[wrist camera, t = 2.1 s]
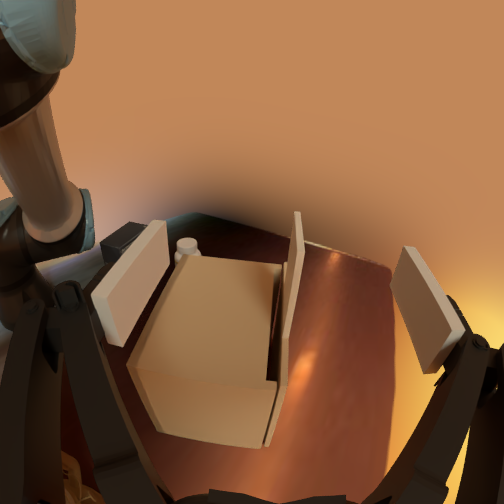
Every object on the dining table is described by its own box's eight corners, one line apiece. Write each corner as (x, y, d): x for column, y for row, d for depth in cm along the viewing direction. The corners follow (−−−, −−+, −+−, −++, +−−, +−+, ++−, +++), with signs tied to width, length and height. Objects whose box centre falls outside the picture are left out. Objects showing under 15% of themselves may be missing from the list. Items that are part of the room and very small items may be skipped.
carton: (157, 431, 32) (126, 364, 24) (190, 331, 49) (183, 254, 41) (260, 448, 32) (276, 390, 23) (269, 341, 49) (281, 264, 40)
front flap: (264, 446, 32) (300, 298, 18) (272, 340, 48) (292, 192, 35) (268, 446, 32) (309, 299, 18) (276, 340, 48) (297, 193, 35)
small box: (135, 259, 67) (129, 220, 62) (156, 265, 66) (151, 225, 60) (107, 282, 59) (97, 241, 53) (129, 291, 57) (120, 247, 52)
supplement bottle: (190, 272, 65) (188, 233, 60) (207, 282, 62) (206, 242, 57) (172, 282, 61) (167, 242, 56) (188, 294, 58) (185, 252, 53)
